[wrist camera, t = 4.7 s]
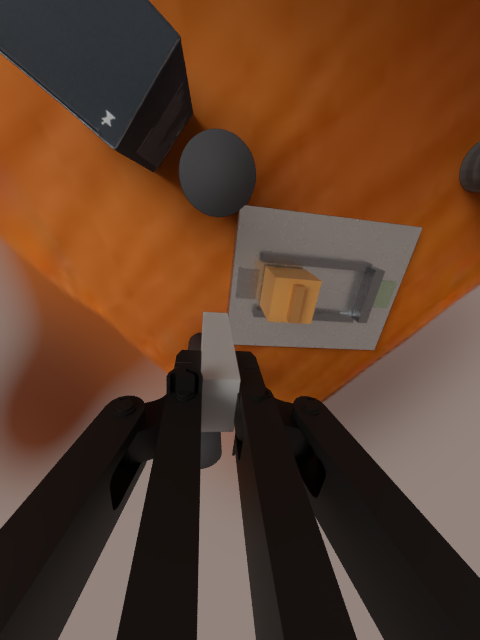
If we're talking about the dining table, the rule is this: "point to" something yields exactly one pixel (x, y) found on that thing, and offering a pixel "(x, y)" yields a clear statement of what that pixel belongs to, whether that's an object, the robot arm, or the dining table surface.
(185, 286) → the dining table surface
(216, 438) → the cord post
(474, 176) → the beverage cup
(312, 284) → the block
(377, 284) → the breaker panel
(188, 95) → the box
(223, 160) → the cord post
